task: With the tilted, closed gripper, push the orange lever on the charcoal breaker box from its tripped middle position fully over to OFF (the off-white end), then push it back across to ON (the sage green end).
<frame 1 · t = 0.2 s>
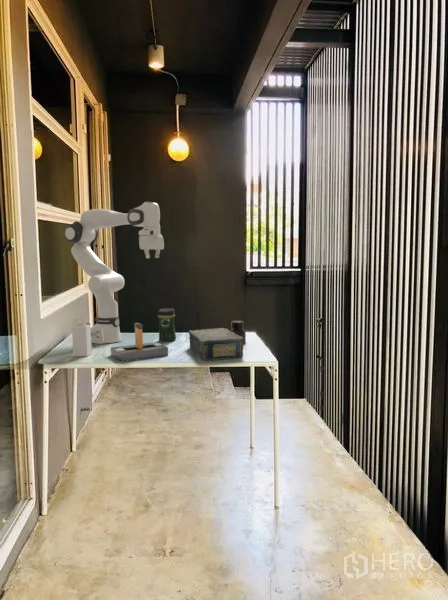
hand: (152, 258, 257), 48 cm above the table, tool pointing down, fingers open, 8 cm apart
coffee jar: (167, 340, 275), on the table
milk carton: (82, 355, 240), on the table
breaker box: (139, 355, 238), on the table
ink bottle: (237, 343, 265), on the table
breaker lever: (138, 335, 236), point 10 cm above the table, hinge at 0.0°
metal box: (215, 353, 242), on the table
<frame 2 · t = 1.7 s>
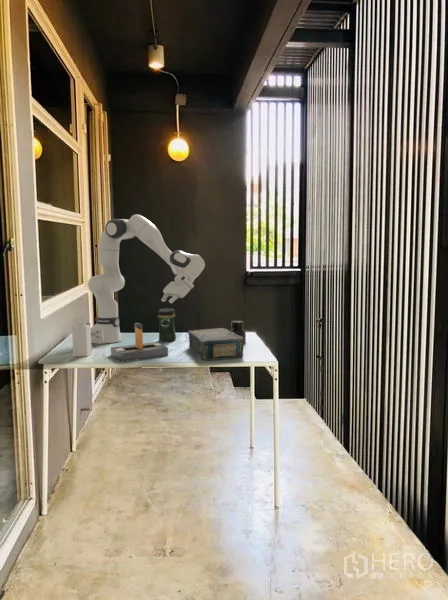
hand: (166, 301, 242), 26 cm above the table, tool tilted 45°, fingers open, 8 cm apart
nothing on the table moved.
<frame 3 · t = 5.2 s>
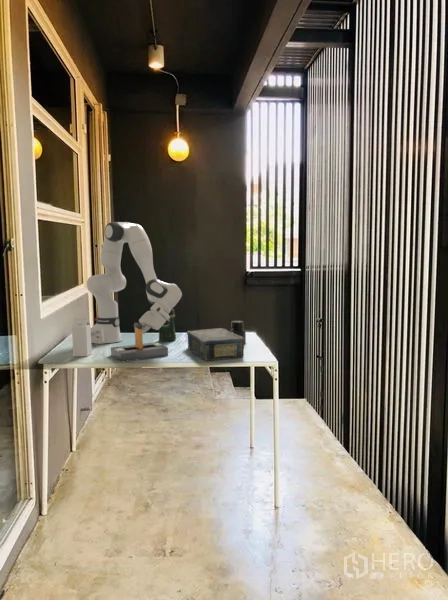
hand: (141, 332, 237), 11 cm above the table, tool tilted 45°, fingers closed, pressing on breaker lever
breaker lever: (138, 335, 236), point 10 cm above the table, hinge at -0.8°, touching gripper
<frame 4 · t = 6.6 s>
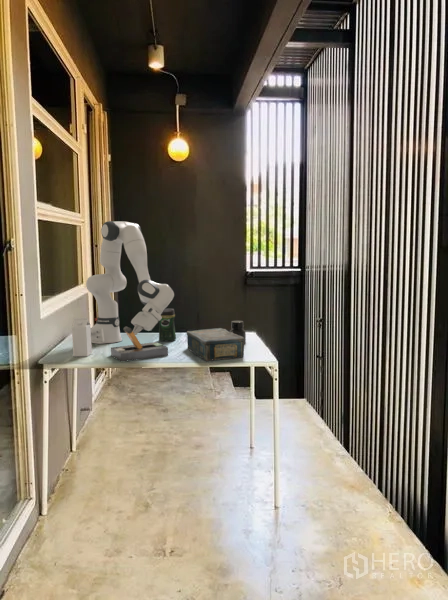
hand: (133, 333, 235), 11 cm above the table, tool tilted 45°, fingers closed, pressing on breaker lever
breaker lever: (132, 337, 235), point 9 cm above the table, hinge at -30.2°, touching gripper
everything else where it was.
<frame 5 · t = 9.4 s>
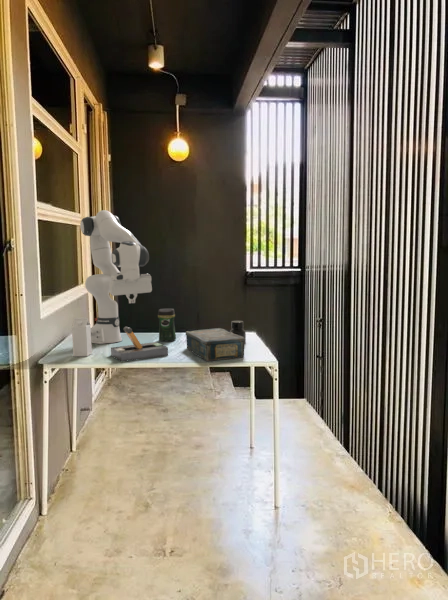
hand: (132, 302, 233), 27 cm above the table, tool pointing down, fingers closed
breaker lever: (132, 337, 235), point 9 cm above the table, hinge at -30.2°
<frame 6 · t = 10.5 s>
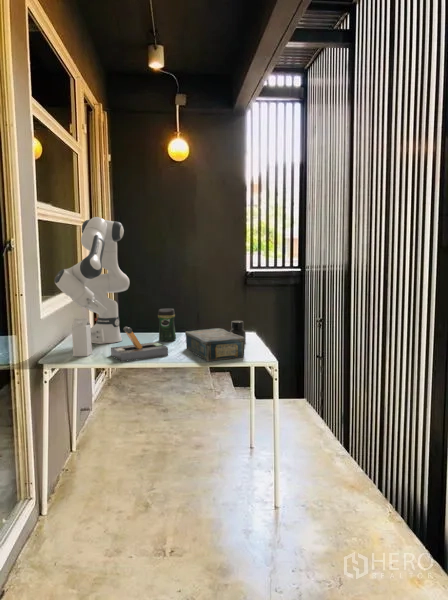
hand: (106, 317, 227), 21 cm above the table, tool tilted 45°, fingers closed
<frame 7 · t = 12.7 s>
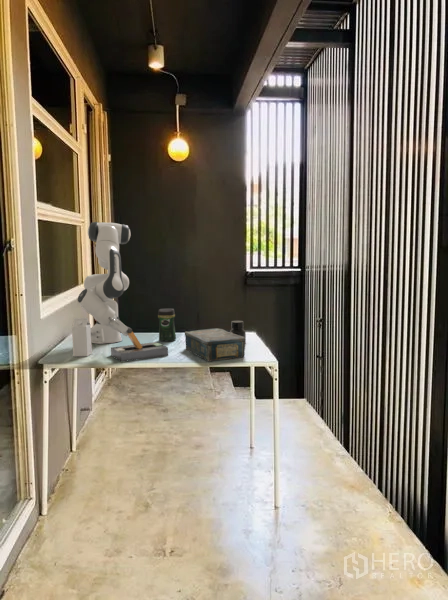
hand: (126, 334, 233), 11 cm above the table, tool tilted 45°, fingers closed, pressing on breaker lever
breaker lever: (132, 337, 235), point 9 cm above the table, hinge at -29.8°, touching gripper
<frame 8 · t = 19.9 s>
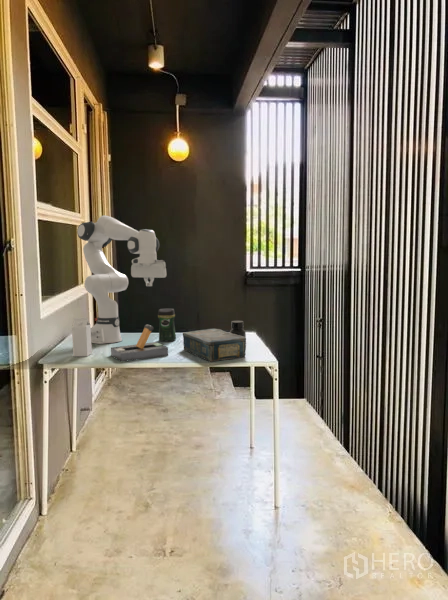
hand: (149, 286, 253), 33 cm above the table, tool pointing down, fingers closed
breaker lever: (144, 336, 238), point 9 cm above the table, hinge at 30.2°
at the end: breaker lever at +30° (first picture: +0°); metal box moved 2.1 cm from its start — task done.
